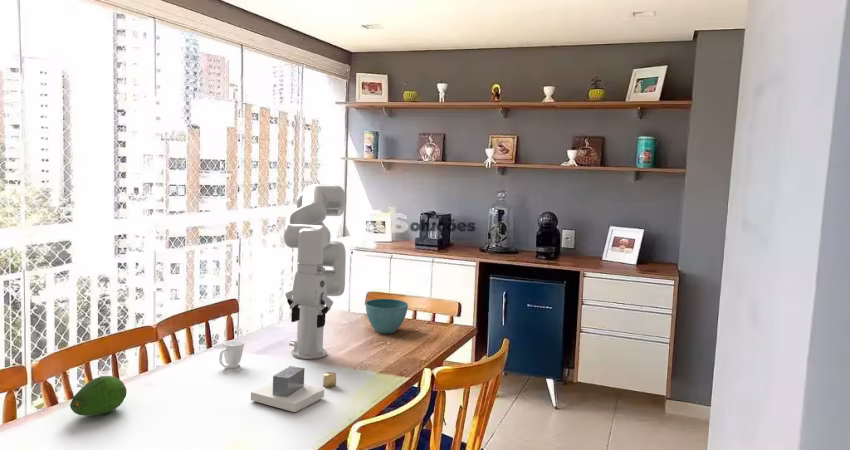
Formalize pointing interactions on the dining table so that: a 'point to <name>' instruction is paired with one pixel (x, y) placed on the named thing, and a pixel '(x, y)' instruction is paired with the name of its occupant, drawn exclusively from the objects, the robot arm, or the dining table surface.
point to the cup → (232, 353)
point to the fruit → (99, 396)
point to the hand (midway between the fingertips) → (307, 323)
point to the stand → (291, 403)
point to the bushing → (329, 380)
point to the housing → (288, 381)
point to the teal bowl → (386, 314)
